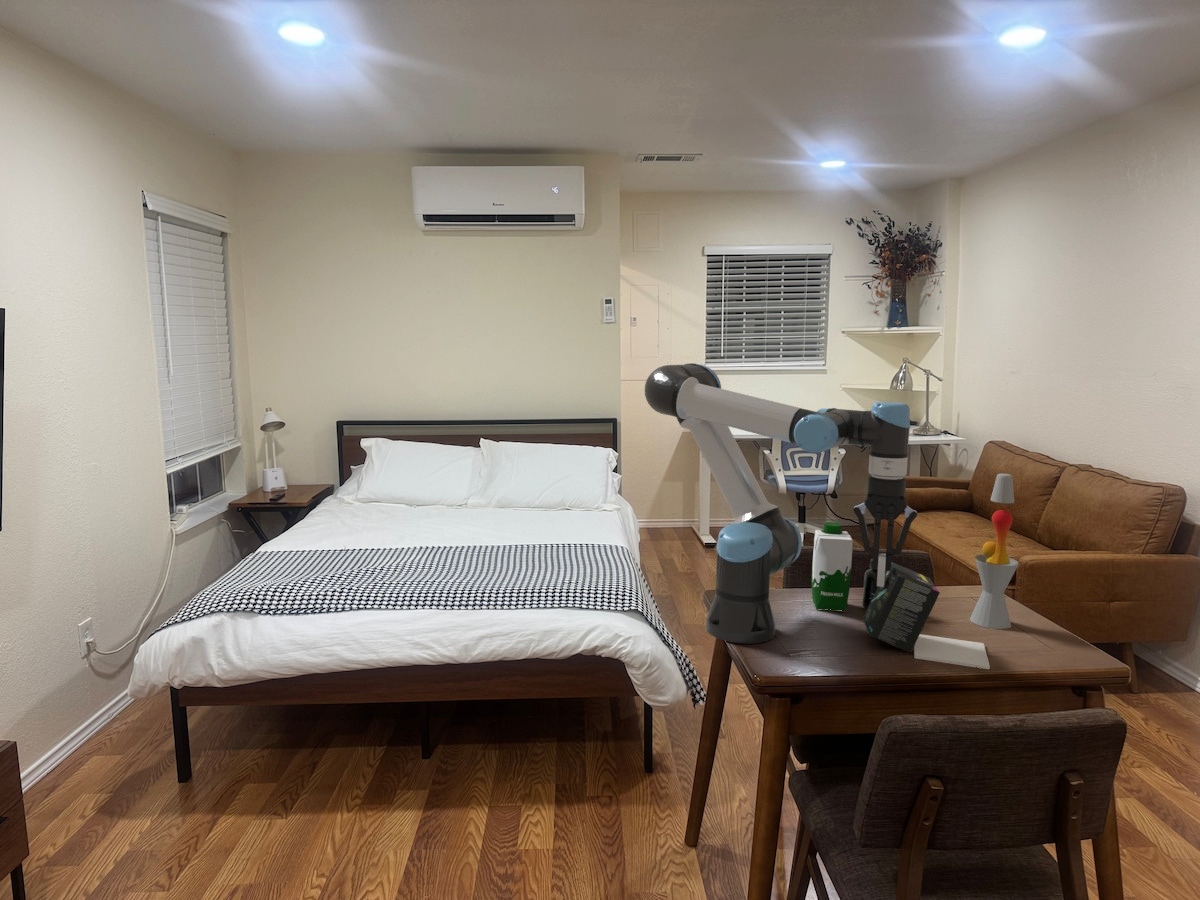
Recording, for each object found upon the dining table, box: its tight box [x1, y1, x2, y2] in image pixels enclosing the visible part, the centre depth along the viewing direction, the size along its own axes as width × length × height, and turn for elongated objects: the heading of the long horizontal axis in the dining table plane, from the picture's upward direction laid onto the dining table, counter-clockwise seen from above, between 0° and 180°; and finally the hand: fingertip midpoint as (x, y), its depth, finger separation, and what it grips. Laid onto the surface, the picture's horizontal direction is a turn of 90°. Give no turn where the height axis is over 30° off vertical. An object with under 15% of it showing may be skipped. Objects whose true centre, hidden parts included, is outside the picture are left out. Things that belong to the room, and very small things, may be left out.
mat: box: [913, 633, 991, 670], centre depth 166 cm, size 14×13×1 cm
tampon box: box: [862, 561, 941, 654], centre depth 169 cm, size 11×9×15 cm
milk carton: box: [811, 521, 853, 612], centre depth 191 cm, size 9×9×20 cm
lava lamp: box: [969, 473, 1019, 630], centre depth 181 cm, size 9×9×35 cm
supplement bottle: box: [861, 558, 886, 610], centre depth 191 cm, size 7×7×12 cm
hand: (880, 584), depth 169 cm, fingers closed
